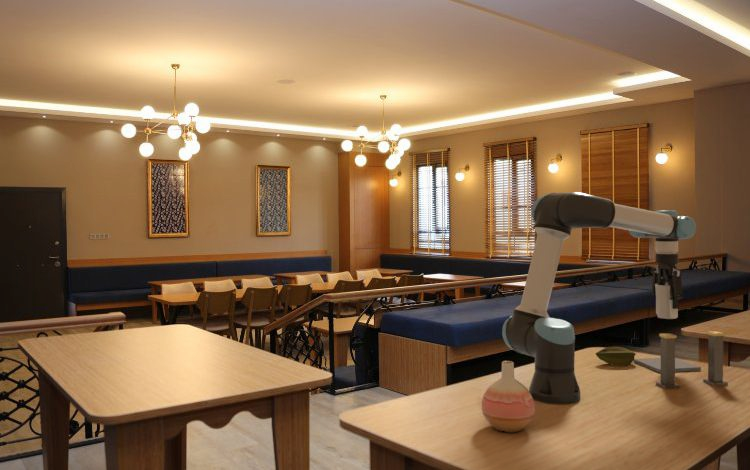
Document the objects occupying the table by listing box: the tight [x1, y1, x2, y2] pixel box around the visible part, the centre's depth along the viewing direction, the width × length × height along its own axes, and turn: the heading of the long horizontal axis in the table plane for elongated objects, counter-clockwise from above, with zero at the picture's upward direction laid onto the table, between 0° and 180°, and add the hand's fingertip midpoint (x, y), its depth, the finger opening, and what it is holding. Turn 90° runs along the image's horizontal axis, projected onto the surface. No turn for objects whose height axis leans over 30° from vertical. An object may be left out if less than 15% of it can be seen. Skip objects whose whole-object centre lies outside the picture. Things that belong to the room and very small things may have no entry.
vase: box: [481, 360, 536, 433], centre depth 164 cm, size 14×14×18 cm
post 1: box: [655, 333, 681, 390], centre depth 202 cm, size 5×5×17 cm
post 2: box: [702, 330, 729, 387], centre depth 204 cm, size 5×5×17 cm
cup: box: [655, 282, 677, 320], centre depth 227 cm, size 8×8×12 cm
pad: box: [633, 357, 702, 374], centre depth 228 cm, size 16×16×1 cm
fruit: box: [595, 346, 637, 367], centre depth 232 cm, size 11×12×7 cm
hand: (666, 315), depth 227 cm, fingers closed on cup, 7 cm apart
